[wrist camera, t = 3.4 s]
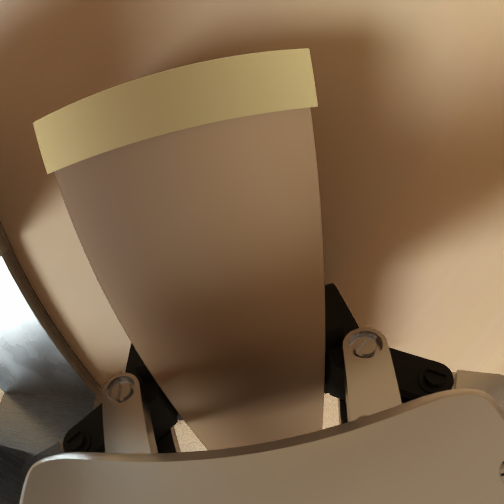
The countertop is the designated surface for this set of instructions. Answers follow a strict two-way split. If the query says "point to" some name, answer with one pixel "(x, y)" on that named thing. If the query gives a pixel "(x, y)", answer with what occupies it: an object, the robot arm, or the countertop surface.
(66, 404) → the grey cradle stand
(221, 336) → the brown rectangular block
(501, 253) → the countertop surface
